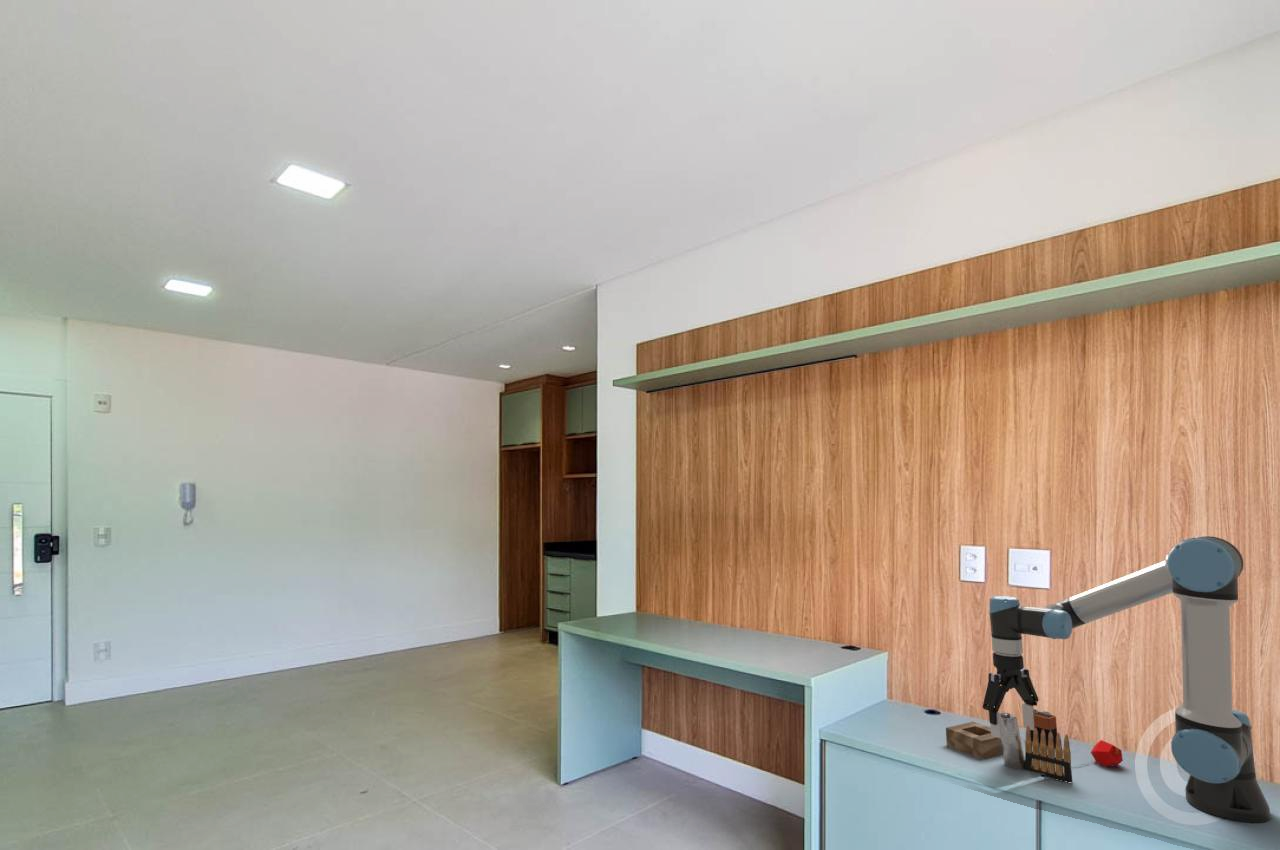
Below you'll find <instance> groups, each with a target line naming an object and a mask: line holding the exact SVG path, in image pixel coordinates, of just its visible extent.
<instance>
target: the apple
mask: <svg viewBox="0 0 1280 850" xmlns="http://www.w3.org/2000/svg"><path fill="white" fill-rule="evenodd" d="M1090 754H1091V755H1092V757H1093V759H1094V760H1095V763H1097V762H1098V763H1097V764H1099V763H1100V764H1099V765H1101V764H1102V765H1103V767H1104V766H1107V767H1113V766H1112V765H1115V766H1118V765H1119V764H1121V763H1122V762H1124V760H1123V753H1122V749H1120V748H1118V747H1117V746H1115V745H1114V744H1112V743H1110V742H1107V741H1104V740H1102V739H1101V740H1099V741H1097V742H1096V744H1095V745H1094V746H1093V748H1092V749H1091V751H1090ZM1102 765H1101V766H1102Z"/></svg>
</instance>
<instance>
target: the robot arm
mask: <svg viewBox="0 0 1280 850" xmlns="http://www.w3.org/2000/svg"><path fill="white" fill-rule="evenodd" d="M1243 570H1244V558H1243V555H1242V554H1241V552H1240V550H1239V549H1238V548H1237V547H1236V546H1235V545H1234V544H1233V543H1231V542H1230V541H1228V540H1226V539H1223V538H1220V537H1216V536H1207V535H1205V536H1199V537H1191V538H1187V539H1183V540H1182V541H1180V542H1179V543H1177V544H1175V546H1173V548H1172V549H1171V550H1170V551H1169V554H1167V555H1166V556H1165V559H1164V560H1162V561H1161V562H1158V563H1155V564H1152V565H1150V566H1147V567H1144V568H1142V569H1139V570H1137V571H1134V572H1132V573H1130V574H1126V575H1124V576H1122V577H1119V578H1117V579H1114V580H1112V581H1109V582H1106V583H1104V584H1101V585H1099V586H1096V587H1094V588H1091V589H1088V590H1086V591H1084V592H1081V593H1079V594H1078V593H1077V594H1076V595H1073V596H1070V597H1068V598H1065V599H1063V600H1059V601H1057V602H1054V603H1052V604H1050V605H1046V606H1044V607H1034V606H1033V607H1032V606H1024V605H1021V603H1020V600H1019V598H1017V597H1012V596H1008V595H1005V596H1004V595H995V596H992V597H991V598H989V613H988V614H989V620H990V621H989V622H990V632H991V636H990V637H991V646H992V648H991V650H992V651H993V653H992V664H993V665H992V666H993V667H995V668H996V673H993V672H989V673H988V682H987V685H986V690H985V694H984V698H983V703H982V709H983V710H986V711H988V717H989V725H990V728H991V735H992V736H995V737H998V738H1002V728H1001V712H999V711H1000V708H1001V706H1002V703H1003V700H1004V698H1005V696H1006V693H1008V692H1009V691H1010V690H1012V689H1015V692H1016V693H1017V694H1018V695H1019V697H1020V698H1021V699H1022V701H1023V703H1021V707H1022V709H1021V710H1022V711H1021V712H1022V722H1023V728H1024V729H1027V726H1029V728H1030V730H1034V709H1035V708H1034V707H1037V706H1038V703H1039V701H1040V700H1039V697H1038V695H1037V694H1038V693H1037V691H1036V690H1035V687H1034V684H1033V681H1032V679H1031V677H1030V676H1031V675H1030V671H1029V669H1027V668H1025V665H1024V664H1025V663H1024V656H1023V653H1024V648H1023V639H1022V635H1028V636H1034V637H1035V636H1036V637H1042V638H1049V639H1053V640H1057V639H1058V640H1068V639H1070V637H1071V635H1072V632H1073V630H1074V629H1075V628H1078V627H1081V626H1083V625H1086V624H1089V623H1091V622H1093V621H1094V622H1095V621H1097V620H1100V619H1102V618H1105V617H1108V616H1112V615H1114V614H1116V613H1119V612H1122V611H1125V610H1128V609H1131V608H1133V607H1137V606H1139V605H1142V604H1145V603H1148V602H1150V601H1153V600H1157V599H1159V598H1162V597H1165V596H1167V595H1170V594H1172V595H1174V596H1175V597H1176V598H1178V599H1179V600H1180V616H1181V618H1180V619H1181V621H1180V622H1181V624H1180V625H1181V661H1182V662H1181V663H1182V665H1181V666H1182V669H1181V670H1182V671H1181V672H1182V702H1183V703H1182V705H1180V706H1178V707H1176V708H1175V710H1174V723H1175V724H1174V726H1175V732H1174V733H1175V734H1174V735H1173V736H1172V737H1171V741H1170V748H1171V749H1170V750H1171V753H1172V756H1173V758H1174V760H1175V761H1176V763H1177V764H1178V766H1179V767H1180V768H1181V769H1182V770H1184V772H1186V773H1187V774H1188V775H1189V776H1188V779H1187V783H1186V785H1185V789H1184V790H1185V800H1186V801H1187V803H1188V804H1190V805H1191V806H1193V807H1194V808H1196V809H1198V810H1200V811H1201V812H1205V813H1207V814H1210V815H1212V816H1216V817H1219V818H1223V819H1227V820H1230V821H1231V820H1232V821H1238V822H1243V823H1244V822H1246V823H1264V822H1265V823H1266V822H1268V821H1269V820H1270V819H1271V810H1270V809H1271V808H1270V805H1269V804H1268V801H1267V799H1266V797H1265V795H1264V793H1263V791H1262V790H1261V789H1262V788H1261V787H1260V785H1259V783H1258V781H1257V775H1256V774H1257V773H1256V764H1255V758H1254V757H1255V756H1254V748H1253V738H1252V729H1253V728H1252V725H1251V722H1250V717H1249V716H1248V715H1247V714H1246V713H1244V712H1242V711H1238V710H1236V709H1233V690H1232V688H1233V687H1232V683H1233V682H1232V650H1231V649H1232V648H1231V645H1232V644H1231V615H1230V613H1231V611H1230V608H1231V607H1232V606H1233V605H1234V604H1235V603H1238V601H1239V581H1238V579H1239V577H1240V575H1242V572H1243Z"/></svg>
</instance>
